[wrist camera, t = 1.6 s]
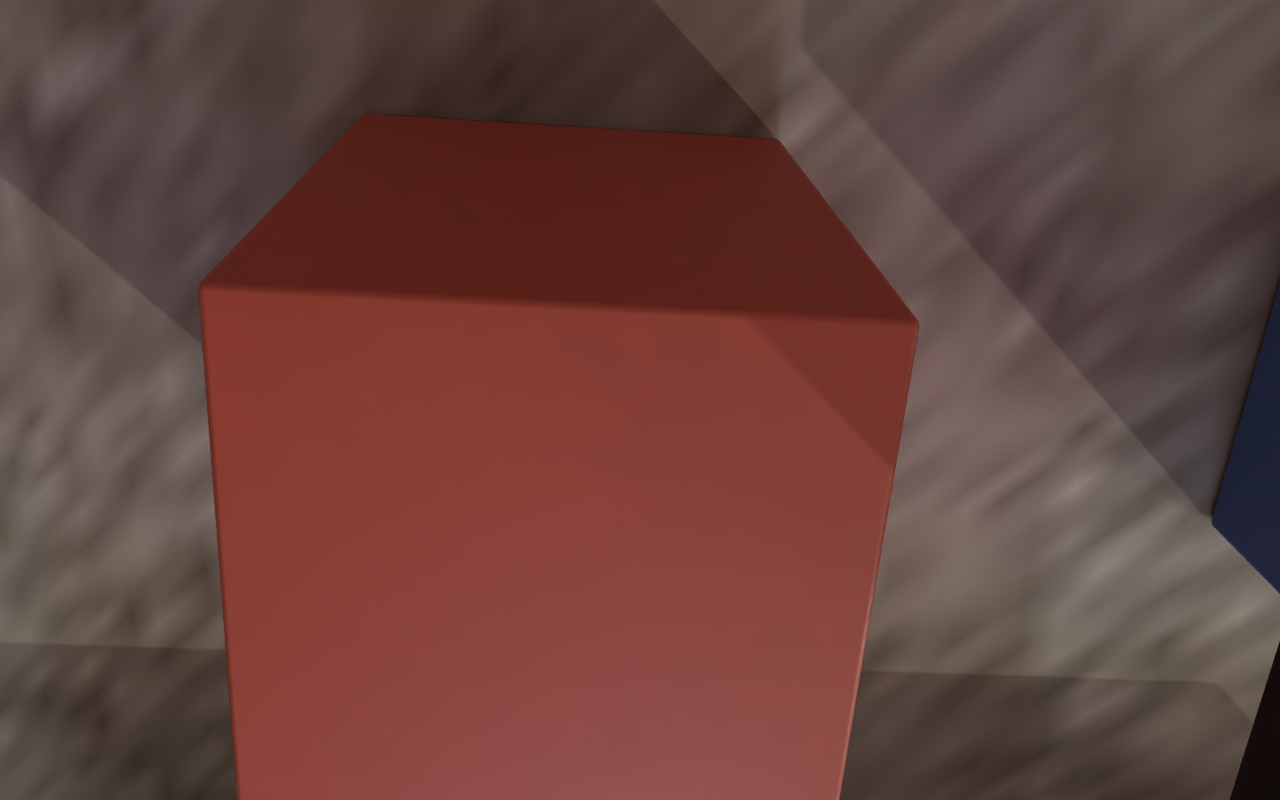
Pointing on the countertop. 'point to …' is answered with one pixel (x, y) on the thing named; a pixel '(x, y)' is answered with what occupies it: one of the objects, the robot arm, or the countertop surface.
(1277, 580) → the blue block
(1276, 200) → the countertop surface
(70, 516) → the countertop surface
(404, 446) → the red block
